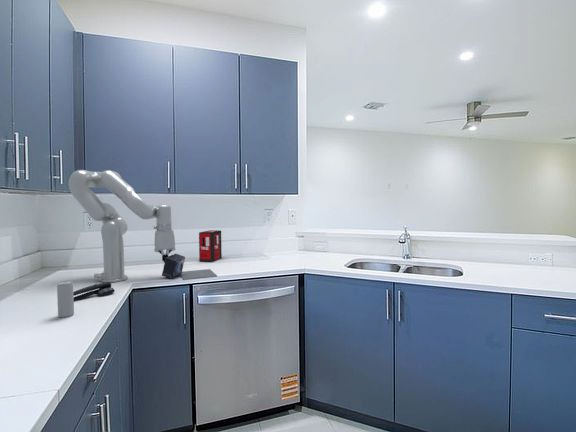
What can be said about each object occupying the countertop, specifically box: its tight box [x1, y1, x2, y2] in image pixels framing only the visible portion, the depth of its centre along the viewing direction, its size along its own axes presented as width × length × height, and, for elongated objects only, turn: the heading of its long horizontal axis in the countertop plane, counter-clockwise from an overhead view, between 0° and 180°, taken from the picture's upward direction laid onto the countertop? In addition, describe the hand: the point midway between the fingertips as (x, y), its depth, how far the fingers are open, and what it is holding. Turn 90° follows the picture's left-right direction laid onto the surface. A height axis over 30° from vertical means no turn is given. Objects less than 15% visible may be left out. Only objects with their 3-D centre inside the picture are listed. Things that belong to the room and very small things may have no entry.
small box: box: [161, 253, 186, 280], centre depth 182 cm, size 11×6×10 cm, turn 169°
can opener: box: [73, 282, 116, 302], centre depth 145 cm, size 18×7×6 cm, turn 141°
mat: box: [179, 268, 218, 281], centre depth 189 cm, size 18×20×1 cm
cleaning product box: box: [198, 229, 223, 264], centre depth 234 cm, size 16×9×20 cm, turn 168°
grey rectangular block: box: [56, 280, 75, 318], centre depth 121 cm, size 5×5×12 cm
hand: (165, 262), depth 181 cm, fingers closed
